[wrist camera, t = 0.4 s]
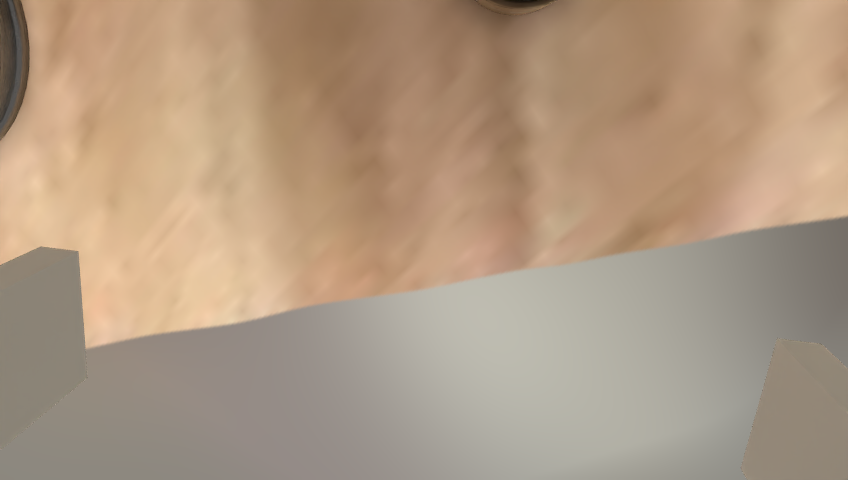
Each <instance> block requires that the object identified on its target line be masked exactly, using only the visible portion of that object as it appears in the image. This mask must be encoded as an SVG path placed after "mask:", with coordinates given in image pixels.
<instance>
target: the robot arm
mask: <svg viewBox="0 0 848 480" xmlns="http://www.w3.org/2000/svg"><path fill="white" fill-rule="evenodd" d="M86 364H87V363H86V349H85V336H84V322H83V308H82V294H81V281H80V267H79V253H78V251H72V250H64V249H56V248H48V247H39V248H37V249H34V250H32V251H30V252H28V253H26V254H24V255H21V256H19V257H17V258H15V259H13V260H10V261H8V262H6V263H4V264H2V265H0V450H1V449H2V448H4V447H5V446H6V445H7V444H8V443H10V442H11V441H12V440H13V439H14V438H15V437H16V436H18V435H19V434H20V433H22V432H23V431H24V430H25V429H26V428H28V427H29V426H30V425H31V424H32V423H34V422H35V421H36V420H37V419H38V418H40V417H41V416H42V415H43V414H44V413H46V412H47V411H48V410H49V409H50V408H52V407H53V406H54V405H55V404H56V403H57V402H59V401H60V400H61V399H62V398H64V397H65V396H66V395H67V394H68V393H70V392H71V391H72V390H73V389H74V388H76V387H77V386H78V385H79V384H80V383H81V382H83V381H84V380H85V379H86V378H87V365H86ZM741 470H742V472H743V473H744V475H745V477H746V478H747V480H848V368H846V367H845V366H844V365H843V364H842V363H841V362H840V361H839V360H838V359H837V358H836V357H835V356H834V355H833V354H831V353H830V352H829V351H828V350H827V349H826V348H825V347H824V346H823V345H822V344H818V343H809V342H802V341H794V340H786V339H777V341H776V344H775V348H774V351H773V355H772V358H771V362H770V365H769V369H768V373H767V377H766V380H765V383H764V387H763V390H762V394H761V398H760V401H759V405H758V409H757V412H756V415H755V419H754V422H753V426H752V430H751V433H750V437H749V440H748V444H747V447H746V451H745V455H744V458H743V462H742V466H741Z"/></svg>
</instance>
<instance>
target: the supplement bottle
mask: <svg viewBox="0 0 848 480" xmlns="http://www.w3.org/2000/svg"><path fill="white" fill-rule="evenodd" d="M475 1H476V2H477V3H479V4H480V5H481V6H483V7H485V8H486V9H489V10H491V11H493V12H496V13H500V14H504V15H523V14H528V13H532V12H535V11H538V10H540V9H542V8H544V7H546V6H548V5H550V4H551V3H553V2H555V1H557V0H475Z"/></svg>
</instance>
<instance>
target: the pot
mask: <svg viewBox="0 0 848 480" xmlns="http://www.w3.org/2000/svg"><path fill="white" fill-rule="evenodd" d="M28 70H29V43H28V34H27V26H26V21H25V17H24V13H23V9H22V5H21V2H20V0H0V140H1V139H2V138H3V137H4V135H5V134H6V133H7V131H8V130H9V128H10V126H11V125H12V123H13V122H14V120H15V118H16V116H17V113H18V111H19V109H20V106H21V104H22V100H23V97H24V93H25V89H26V85H27V78H28Z"/></svg>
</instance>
